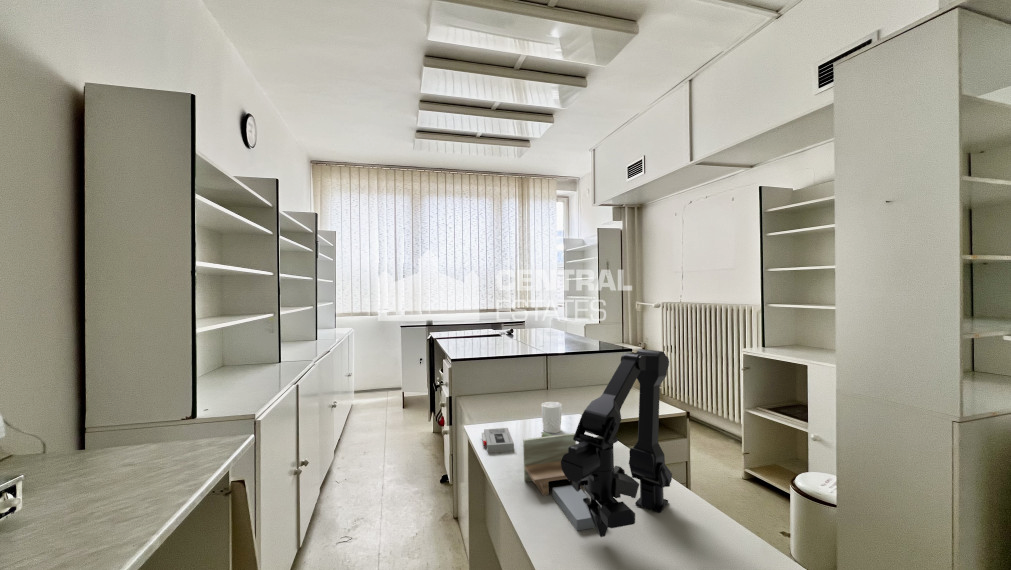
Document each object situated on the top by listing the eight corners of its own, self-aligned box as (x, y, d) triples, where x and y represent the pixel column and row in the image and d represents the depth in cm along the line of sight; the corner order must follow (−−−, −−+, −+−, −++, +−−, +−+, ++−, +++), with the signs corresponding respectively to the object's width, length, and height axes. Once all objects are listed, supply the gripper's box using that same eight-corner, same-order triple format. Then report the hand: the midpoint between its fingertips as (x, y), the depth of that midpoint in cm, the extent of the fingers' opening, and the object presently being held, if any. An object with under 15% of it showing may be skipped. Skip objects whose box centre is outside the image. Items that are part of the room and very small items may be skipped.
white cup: (548, 425, 170) (547, 400, 170) (565, 429, 166) (565, 403, 166) (538, 431, 164) (537, 405, 164) (555, 435, 159) (555, 408, 159)
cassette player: (513, 443, 145) (484, 445, 144) (514, 451, 145) (484, 453, 144) (507, 427, 161) (481, 429, 160) (507, 434, 161) (481, 436, 160)
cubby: (589, 488, 118) (588, 445, 118) (535, 496, 114) (534, 452, 114) (574, 472, 128) (574, 433, 128) (524, 480, 124) (523, 439, 124)
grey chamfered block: (604, 525, 100) (604, 515, 100) (577, 530, 98) (576, 520, 98) (576, 493, 116) (576, 484, 116) (552, 497, 114) (552, 487, 114)
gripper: (657, 479, 87) (659, 555, 87) (612, 445, 105) (613, 508, 105) (608, 487, 84) (609, 565, 84) (570, 451, 102) (572, 515, 102)
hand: (601, 535), depth 94 cm, fingers closed
